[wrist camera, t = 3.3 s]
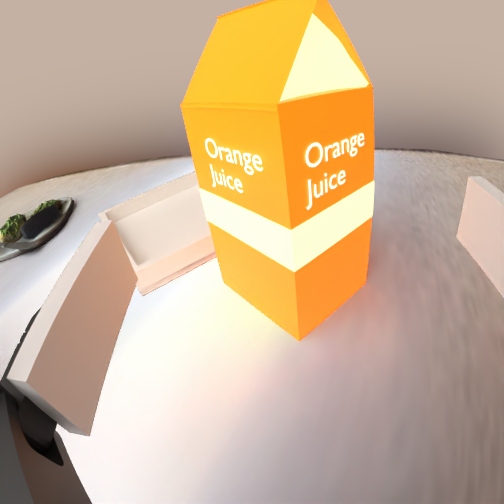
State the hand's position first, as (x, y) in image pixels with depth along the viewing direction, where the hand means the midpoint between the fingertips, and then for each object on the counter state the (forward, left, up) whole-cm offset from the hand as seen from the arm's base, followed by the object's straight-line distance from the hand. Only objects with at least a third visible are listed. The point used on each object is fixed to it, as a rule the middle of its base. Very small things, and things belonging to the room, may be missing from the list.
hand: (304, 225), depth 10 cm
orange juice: (-6, -8, -11) cm, 15 cm away
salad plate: (+16, -46, -12) cm, 50 cm away
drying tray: (-4, -24, -11) cm, 26 cm away
